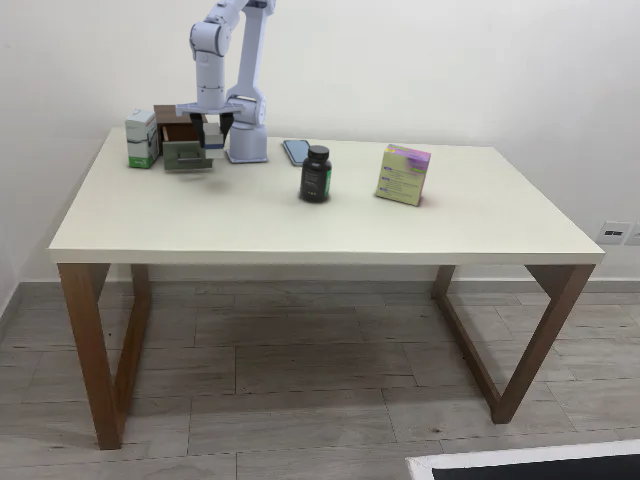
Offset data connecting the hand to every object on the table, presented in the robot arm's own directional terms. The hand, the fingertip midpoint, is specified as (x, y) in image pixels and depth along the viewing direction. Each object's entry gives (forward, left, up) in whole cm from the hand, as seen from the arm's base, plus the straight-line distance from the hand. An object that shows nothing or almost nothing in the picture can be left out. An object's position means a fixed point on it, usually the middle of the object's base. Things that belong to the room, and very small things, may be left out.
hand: (211, 145), depth 111 cm
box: (-44, +11, -11) cm, 46 cm away
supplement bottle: (-23, +8, -11) cm, 26 cm away
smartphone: (-27, -16, -10) cm, 33 cm away
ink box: (+14, -16, -11) cm, 24 cm away
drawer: (+4, -13, -9) cm, 16 cm away
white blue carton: (0, 0, -1) cm, 1 cm away
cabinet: (+4, -26, -10) cm, 29 cm away
